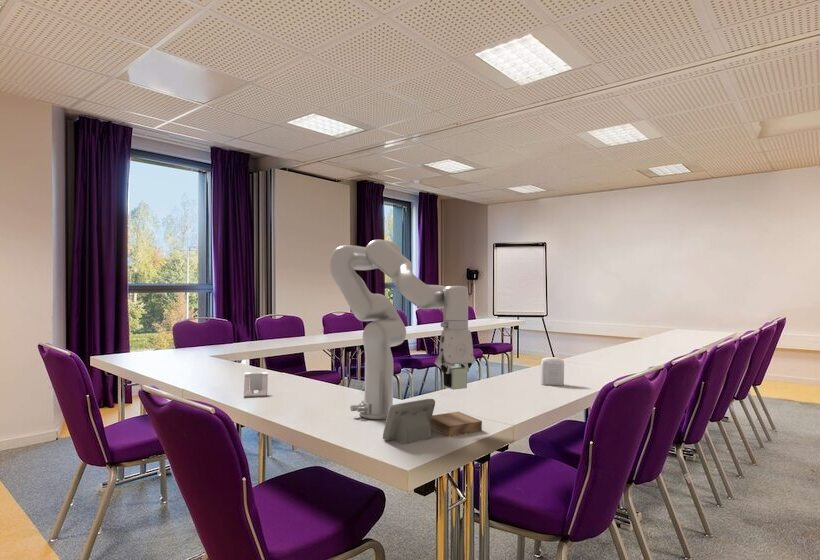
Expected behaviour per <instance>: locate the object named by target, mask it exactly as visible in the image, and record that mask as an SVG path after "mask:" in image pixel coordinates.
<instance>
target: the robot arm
mask: <svg viewBox="0 0 820 560" xmlns="http://www.w3.org/2000/svg"><path fill="white" fill-rule="evenodd" d="M412 268H413V264H412V261H411V260H410V259H408V258H407V257H406V256H405V255H403V252H402V249H401V247H400V246H399V245H398V244H397V242H395V241H392V240H391V241H390V240H385V239H380V238H379V239H373V240H371V241H370V242H368V244H367V245H366V246H360V245H351V244H350V245H349V244H344V245H340V246H338V247H336V248H334V250H333V252H332V253H331V256H330V259H329V270H330V273H331V276H332V278H333V281H334V282H335V283H336V285H337V286H338V287H339V290H340V291H341V294H342V295H343V297H344V299H345V301H346V303H347V304H348V306H349V309H350V310H351V312H352V314H353V315H354V317H355V319H357V320H359V321H360V322H369V323H368V324H367V325H366V326H365V327H364V328H363V332H362V343H363V349H364V397H363V398H364V400H361V403H359V404H351V405H350V406H349V407H350V408H349V409H350V411H351V412H357V413H359V416H361V417H362V418H365V419H369V420H370V419H371V420H387V416H388V412H389V408H390V406H391V405H394V404H393V403H394V401H393V400H394V399H393V397H394V357H393V353H392V350H391V347H397V346H400V345H402V344H403V343H404V341H405V340H406V337H407V329H406V325H405V324H404V322H403V320H402V318H401V316H400V314H399V313H398V311H397V310H396V308H395V306H394V305H393V303H392V301H391V300H390V299H389V298H388V297H387V296H386V295H384V294H382V293H373V292H371V291H370V290H369V288H368V286H367V284H366V282H365V281H364V280H363V278H362V277H361V276H360V275H359V274H358V272H356V271H371V270H376V269H378V270H380V271H381V272H383V274H385V275H386V276H387V277H388V278H390V280H392V281H393V282H394V286H395V287H396V289H397V290H398V292H399V293H400V294H401V295H402V296H403V297H404V298H405V299H406V300H407V301H409V302H410V303H411V304H412V305H414V306H416V307H417V308H419V309H421V310H437V309H443V321H442V322H440V328H443V330H441V334H440V339H439V349H438V353H439V354H438V356H437V357H436V359H435V361H434V364H435V365H436V366H437V367H438V368H439V370H441V372H442V373H443V386H447V387H451V376H452V375H451V374H450V370H451V366H453V365H459V366H460V367H464V368H467V373H468V372H469V371H470V368H471V367H472V365H473V364H474V363H475V362H476V360H477V359H476V357H475V356H474V345H473V337H472V332H471V330H469V288H468V287H467V286H465V285H464V286H463V285H448V286H447V285H446V286H444V285H440V284H427V283H425V282H423V281H422V280H421V279H420V278H419V277H418V276H416V275H415V274H414V273H413V272H412ZM447 387H446V388H447Z"/></svg>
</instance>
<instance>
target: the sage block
mask: <svg viewBox="0 0 820 560" xmlns="http://www.w3.org/2000/svg"><path fill="white" fill-rule="evenodd" d="M450 374H451V375H452V376H451V387H447V386H444V385H443V386H444V388H446V389H447V388H448V389H450V390H453V391H455V390H462V389H463V390H464V389H468V388H467V387H468V372H467V368H464V367H460V365H454V366H453V365H452V366H451V370H450Z"/></svg>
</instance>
